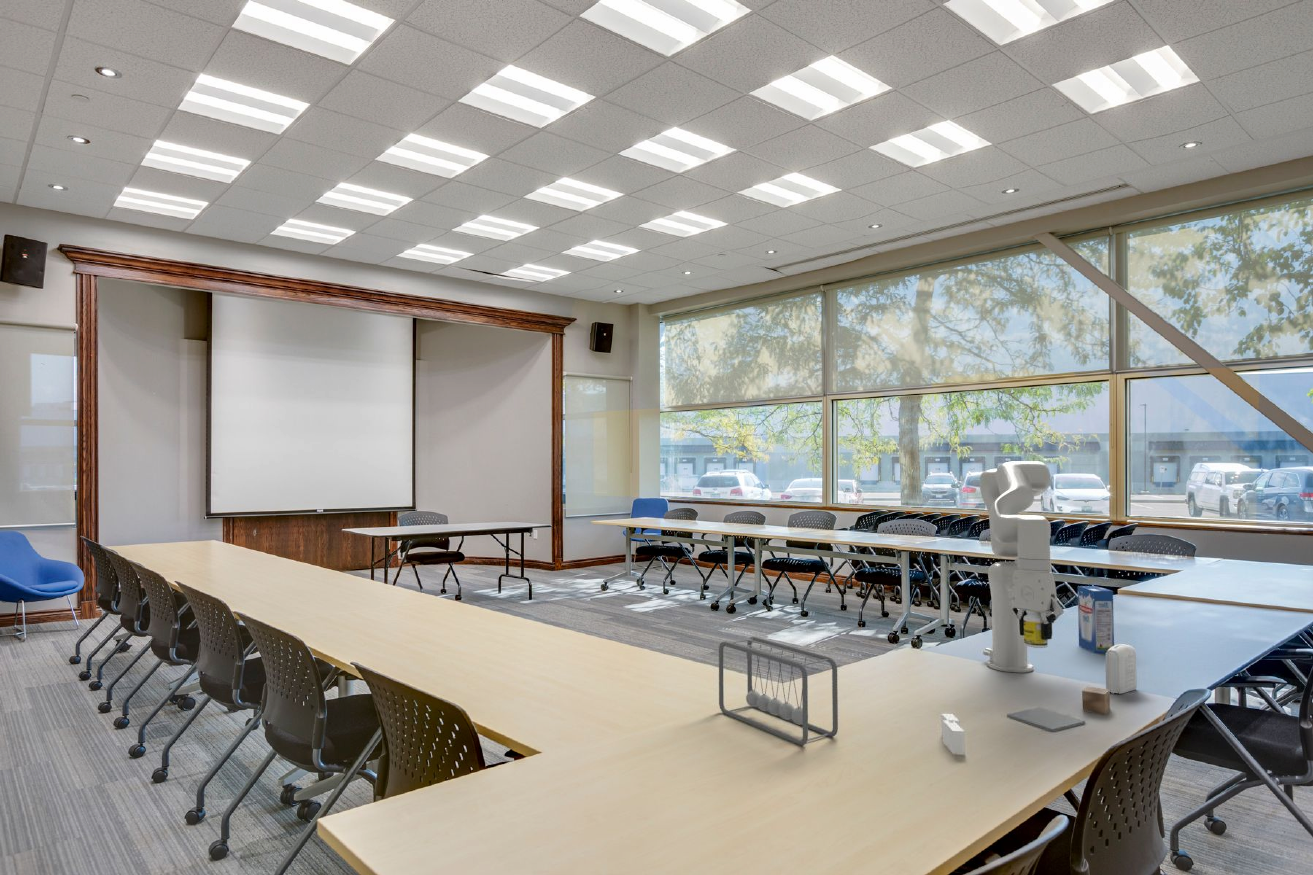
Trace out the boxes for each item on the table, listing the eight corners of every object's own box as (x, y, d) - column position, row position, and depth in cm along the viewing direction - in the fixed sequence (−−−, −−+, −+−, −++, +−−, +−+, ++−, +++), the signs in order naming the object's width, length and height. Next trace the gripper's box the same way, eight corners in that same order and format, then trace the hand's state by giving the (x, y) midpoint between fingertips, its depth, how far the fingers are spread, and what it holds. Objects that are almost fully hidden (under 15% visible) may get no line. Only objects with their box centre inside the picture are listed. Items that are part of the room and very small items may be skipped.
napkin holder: (968, 762, 160) (968, 734, 161) (915, 749, 168) (915, 722, 168) (993, 743, 172) (992, 717, 172) (942, 731, 179) (942, 706, 179)
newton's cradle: (839, 738, 173) (838, 658, 174) (805, 748, 167) (804, 665, 168) (750, 704, 198) (749, 634, 199) (718, 712, 192) (717, 639, 193)
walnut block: (1082, 710, 193) (1082, 690, 193) (1087, 705, 196) (1087, 686, 197) (1105, 714, 189) (1104, 694, 190) (1110, 710, 193) (1109, 689, 193)
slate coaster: (1007, 716, 188) (1007, 714, 188) (1039, 709, 193) (1039, 706, 193) (1052, 731, 177) (1052, 729, 177) (1085, 723, 183) (1085, 720, 183)
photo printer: (1122, 685, 214) (1121, 640, 214) (1139, 689, 210) (1138, 643, 211) (1103, 691, 208) (1102, 645, 209) (1120, 695, 205) (1119, 648, 205)
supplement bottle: (1019, 644, 200) (1018, 605, 201) (1039, 643, 200) (1038, 605, 201) (1031, 648, 195) (1030, 609, 195) (1052, 648, 195) (1051, 608, 196)
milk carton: (1114, 652, 251) (1113, 590, 251) (1095, 652, 251) (1093, 590, 252) (1097, 645, 261) (1096, 586, 261) (1078, 645, 261) (1077, 586, 262)
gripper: (995, 563, 204) (996, 632, 203) (1055, 569, 189) (1057, 644, 188) (1014, 561, 208) (1015, 630, 207) (1074, 568, 193) (1076, 641, 192)
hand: (1035, 636), depth 198 cm, fingers closed on supplement bottle, 5 cm apart
